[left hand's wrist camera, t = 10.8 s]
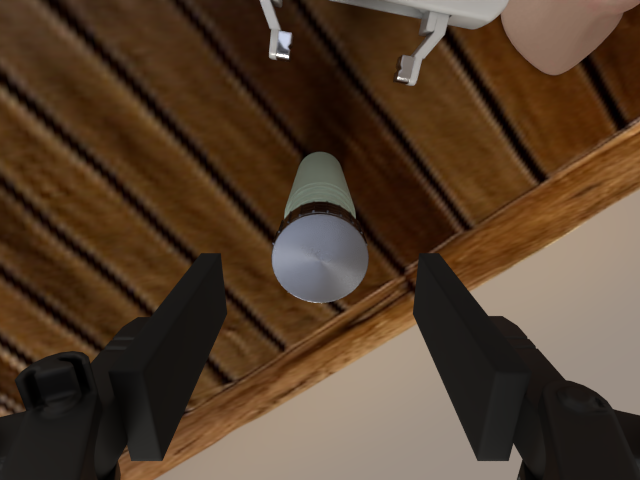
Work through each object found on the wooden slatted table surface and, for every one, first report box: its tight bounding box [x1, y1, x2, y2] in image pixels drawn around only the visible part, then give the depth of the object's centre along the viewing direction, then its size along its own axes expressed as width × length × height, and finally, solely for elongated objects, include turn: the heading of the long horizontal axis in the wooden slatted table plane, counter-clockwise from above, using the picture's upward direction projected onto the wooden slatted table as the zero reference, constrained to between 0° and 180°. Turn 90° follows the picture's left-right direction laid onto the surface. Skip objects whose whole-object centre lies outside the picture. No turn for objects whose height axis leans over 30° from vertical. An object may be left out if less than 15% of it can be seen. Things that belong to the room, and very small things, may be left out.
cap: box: [271, 201, 369, 303], centre depth 17 cm, size 4×5×2 cm
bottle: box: [284, 152, 356, 219], centre depth 27 cm, size 4×4×21 cm
